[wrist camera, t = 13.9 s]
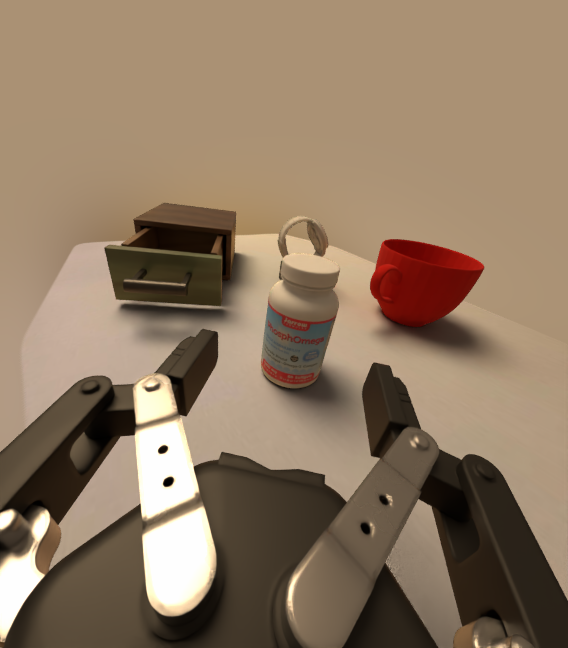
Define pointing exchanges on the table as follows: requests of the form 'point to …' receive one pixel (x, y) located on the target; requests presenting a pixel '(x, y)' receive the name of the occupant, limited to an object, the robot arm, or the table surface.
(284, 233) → the watch
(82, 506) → the table surface
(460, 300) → the ceramic cup
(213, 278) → the drawer
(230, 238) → the cabinet
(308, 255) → the pill bottle
